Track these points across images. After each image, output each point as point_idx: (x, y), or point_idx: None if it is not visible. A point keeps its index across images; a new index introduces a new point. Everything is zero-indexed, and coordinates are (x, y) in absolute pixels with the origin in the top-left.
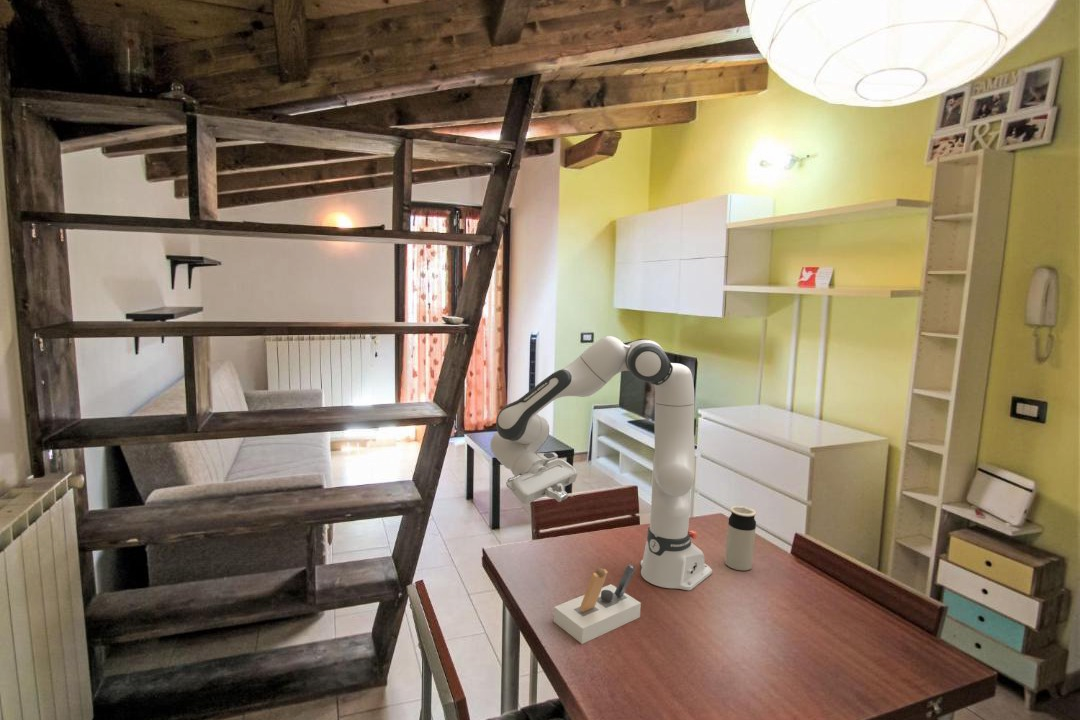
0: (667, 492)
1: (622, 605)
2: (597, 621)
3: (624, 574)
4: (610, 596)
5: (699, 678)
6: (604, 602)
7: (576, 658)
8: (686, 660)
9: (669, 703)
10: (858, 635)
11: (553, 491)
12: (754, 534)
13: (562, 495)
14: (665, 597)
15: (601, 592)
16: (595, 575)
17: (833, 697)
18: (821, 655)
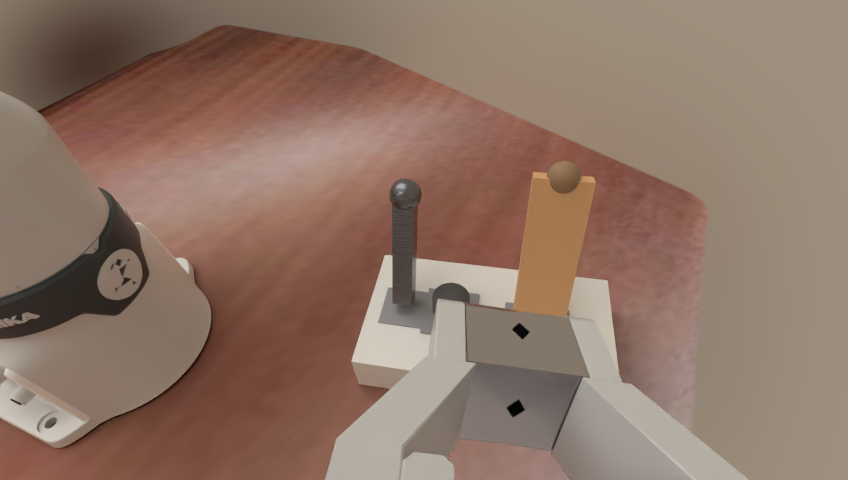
0: None
1: (433, 275)
2: None
3: (414, 222)
4: (455, 284)
5: (474, 147)
6: None
7: (641, 285)
8: (450, 172)
9: (563, 148)
10: (204, 82)
11: (662, 435)
12: None
13: (535, 316)
14: (257, 286)
15: None
16: (591, 178)
17: (374, 70)
18: (290, 91)
